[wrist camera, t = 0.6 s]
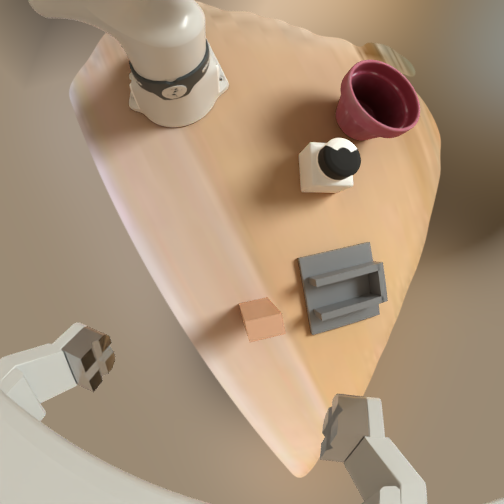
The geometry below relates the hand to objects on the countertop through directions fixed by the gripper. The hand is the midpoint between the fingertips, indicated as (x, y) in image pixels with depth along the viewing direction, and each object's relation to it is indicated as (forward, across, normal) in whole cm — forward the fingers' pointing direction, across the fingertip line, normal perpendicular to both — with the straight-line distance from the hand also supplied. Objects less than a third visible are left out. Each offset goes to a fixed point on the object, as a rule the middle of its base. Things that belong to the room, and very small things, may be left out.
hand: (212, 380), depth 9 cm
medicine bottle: (+48, -3, 0) cm, 48 cm away
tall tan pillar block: (+36, +4, +22) cm, 42 cm away
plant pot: (+55, -9, -12) cm, 57 cm away
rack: (+42, -11, +18) cm, 47 cm away
